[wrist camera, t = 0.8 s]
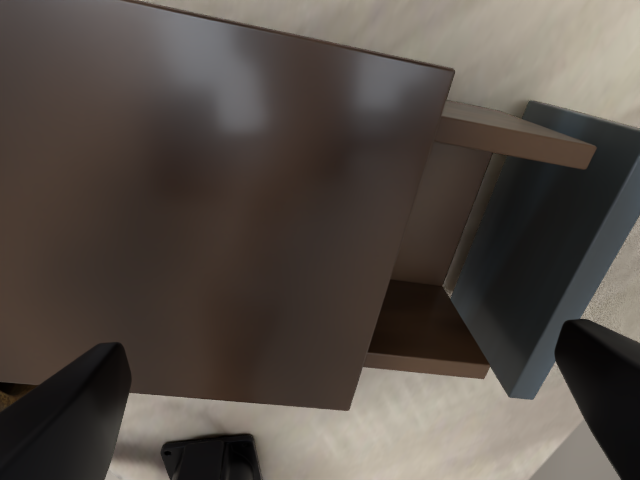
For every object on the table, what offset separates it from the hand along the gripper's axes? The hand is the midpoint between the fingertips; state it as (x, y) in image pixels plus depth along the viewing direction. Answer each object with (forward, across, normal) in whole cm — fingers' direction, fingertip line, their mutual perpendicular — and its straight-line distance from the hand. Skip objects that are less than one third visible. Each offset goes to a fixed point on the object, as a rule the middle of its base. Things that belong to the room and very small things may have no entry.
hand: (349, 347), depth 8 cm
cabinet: (+14, +5, 0) cm, 15 cm away
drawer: (+13, -4, +2) cm, 14 cm away
